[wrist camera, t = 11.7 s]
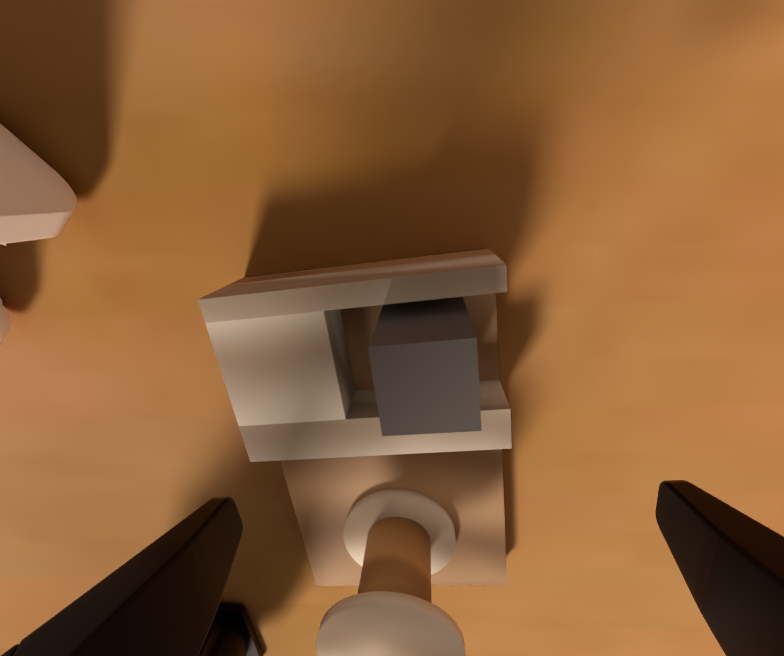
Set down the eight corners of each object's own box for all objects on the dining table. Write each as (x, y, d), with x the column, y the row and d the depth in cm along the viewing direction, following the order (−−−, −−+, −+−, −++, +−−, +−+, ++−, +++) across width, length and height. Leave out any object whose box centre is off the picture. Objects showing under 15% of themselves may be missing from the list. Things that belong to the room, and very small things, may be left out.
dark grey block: (462, 295, 16) (476, 337, 12) (466, 366, 17) (481, 430, 13) (383, 303, 17) (367, 346, 12) (393, 372, 18) (382, 436, 13)
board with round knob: (502, 561, 24) (535, 723, 16) (322, 563, 25) (281, 713, 18) (488, 248, 17) (535, 291, 10) (243, 277, 18) (127, 333, 11)
